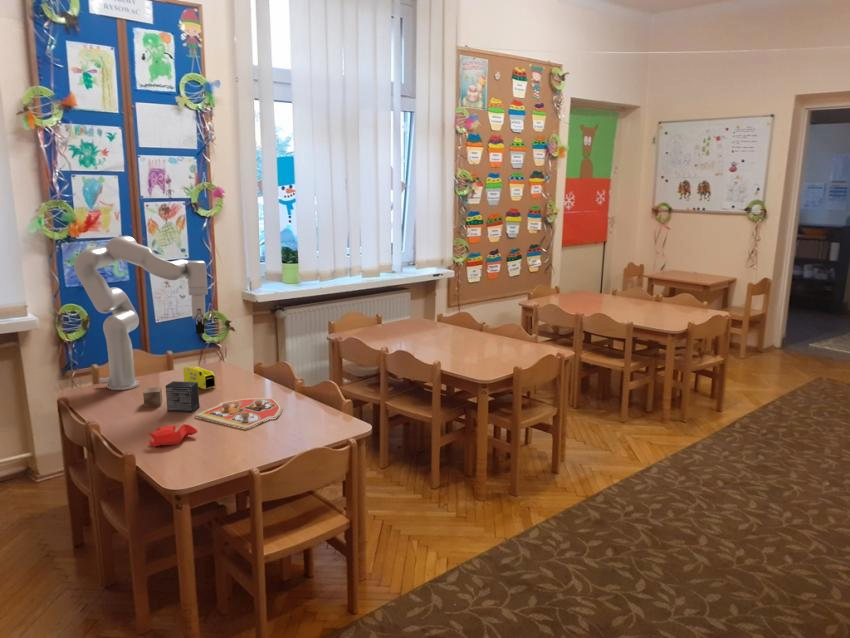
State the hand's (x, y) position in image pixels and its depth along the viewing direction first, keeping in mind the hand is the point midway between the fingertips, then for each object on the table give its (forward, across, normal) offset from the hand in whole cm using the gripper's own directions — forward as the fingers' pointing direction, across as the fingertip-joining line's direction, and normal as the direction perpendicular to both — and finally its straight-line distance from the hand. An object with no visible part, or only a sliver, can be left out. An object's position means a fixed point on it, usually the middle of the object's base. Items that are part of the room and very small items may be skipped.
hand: (200, 330), depth 276 cm
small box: (+25, +25, -7) cm, 36 cm away
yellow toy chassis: (+25, -4, -2) cm, 26 cm away
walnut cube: (+25, +16, -19) cm, 35 cm away
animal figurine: (+25, +56, -9) cm, 62 cm away
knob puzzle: (+26, +35, +16) cm, 47 cm away
